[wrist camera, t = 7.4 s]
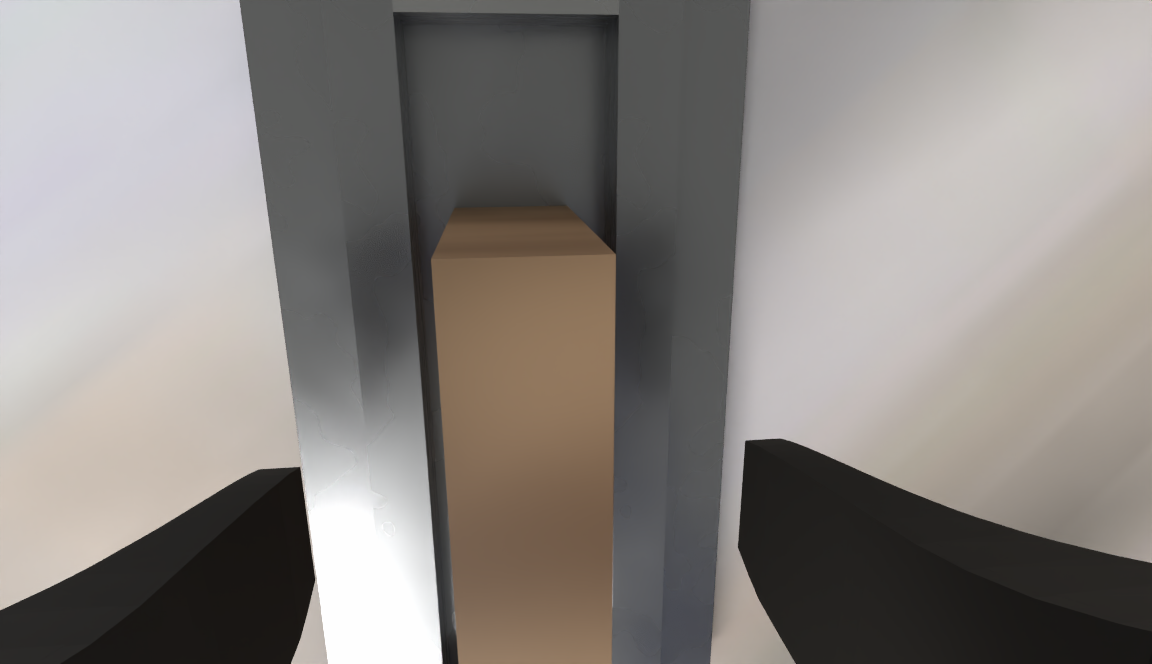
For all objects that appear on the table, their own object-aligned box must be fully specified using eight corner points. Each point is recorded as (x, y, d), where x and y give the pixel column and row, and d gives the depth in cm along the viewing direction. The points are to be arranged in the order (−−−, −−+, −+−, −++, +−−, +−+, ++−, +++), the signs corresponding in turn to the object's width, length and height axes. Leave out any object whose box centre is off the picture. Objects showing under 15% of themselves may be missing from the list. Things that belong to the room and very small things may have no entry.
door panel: (570, 564, 17) (610, 779, 12) (474, 572, 17) (467, 796, 11) (567, 205, 15) (616, 253, 9) (454, 207, 14) (430, 259, 9)
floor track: (698, 659, 20) (726, 731, 18) (344, 693, 19) (323, 775, 16) (735, -26, 15) (782, -56, 12) (251, -35, 14) (200, -70, 11)
